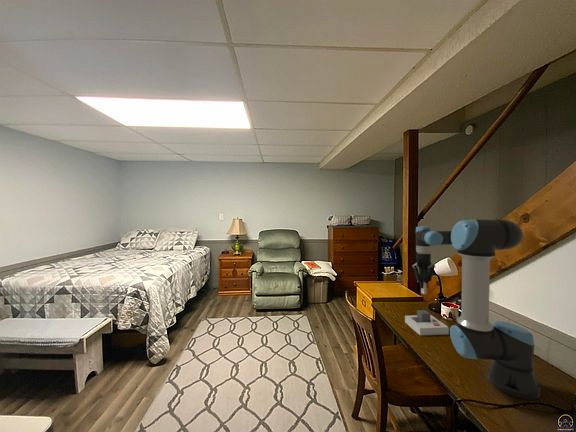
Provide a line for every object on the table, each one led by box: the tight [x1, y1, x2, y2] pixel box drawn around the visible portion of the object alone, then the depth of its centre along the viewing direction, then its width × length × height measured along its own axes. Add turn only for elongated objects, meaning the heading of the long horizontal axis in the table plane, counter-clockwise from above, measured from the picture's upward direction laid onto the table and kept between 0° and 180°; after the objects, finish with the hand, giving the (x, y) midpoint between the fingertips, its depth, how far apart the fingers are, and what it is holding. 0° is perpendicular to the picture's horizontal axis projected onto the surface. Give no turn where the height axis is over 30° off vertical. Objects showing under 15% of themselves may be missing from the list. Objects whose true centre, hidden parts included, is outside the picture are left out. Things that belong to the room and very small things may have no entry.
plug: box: [416, 309, 431, 323], centre depth 145 cm, size 5×5×8 cm
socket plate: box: [404, 314, 450, 336], centre depth 143 cm, size 16×16×5 cm
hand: (423, 293), depth 144 cm, fingers closed
